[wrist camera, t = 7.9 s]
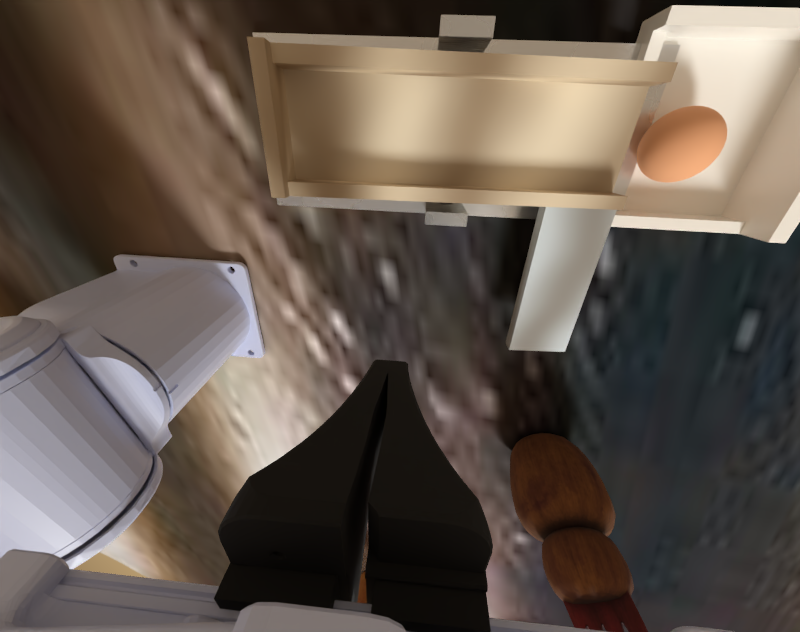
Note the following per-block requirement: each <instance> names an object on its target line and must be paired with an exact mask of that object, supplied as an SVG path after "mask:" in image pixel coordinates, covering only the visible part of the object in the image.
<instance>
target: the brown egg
mask: <svg viewBox="0 0 800 632" xmlns="http://www.w3.org/2000/svg"><path fill="white" fill-rule="evenodd" d="M726 139H727V125H726V122H725V120H724V118H723V117H722V115H721V114H719V113H718V112H717V111H715V110H714V109H711V108H709V107H705V106H688V107H683V108H679V109H676V110H674V111H672V112H670V113H668V114H666V115H664V116H663V117H661V118H660V119H658V120H657V121H656V122H655V123H654V124H653V125H651V126H650V128H649V129H648V130H647V131H646V132H645V134H644V135H643V137H642V139H641V141H640V143H639V145H638V149H637V163H638V166H639V168H640V170H641V172H642V173H643V174H644V175H645V176H647V177H648V178H650V179H652V180H654V181H658V182H677V181H682V180H685V179H688V178H690V177H693V176H695V175H696V174H698V173H700V172H702V171H703V170H704V169H706V168H707V167H708V166H709V165H711V164H712V163H713V161H714V160H715V159H716V158H717V157H718V156H719V154H720V153H721V151H722V149H723V147H724V145H725V142H726Z"/></svg>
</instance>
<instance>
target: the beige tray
mask: <svg viewBox="0 0 800 632" xmlns="http://www.w3.org/2000/svg"><path fill="white" fill-rule="evenodd" d="M247 41H248V48H249V54H250V60H251V67H252V73H253V80H254V86H255V93H256V99H257V106H258V112H259V119H260V125H261V132H262V138H263V145H264V151H265V158H266V164H267V171H268V177H269V184H270V190H271V197H272V198H287V197H289V196H299V197H323V198H347V199H371V200H395V201H418V202H439V203H440V204H447V205H450V204H453V203H466V204H490V205H514V206H537V207H539V210H538V214H537V218H536V222H535V226H534V230H533V234H532V238H531V242H530V246H529V250H528V254H527V258H526V262H525V266H524V270H523V274H522V278H521V282H520V286H519V291H518V295H517V299H516V303H515V307H514V311H513V315H512V319H511V323H510V327H509V331H508V335H507V339H506V345H507V347H508V349H509V350H527V351H555V352H565V350H566V347H567V344H568V342H569V339H570V336H571V334H572V331H573V328H574V325H575V323H576V320H577V317H578V315H579V312H580V309H581V306H582V304H583V301H584V298H585V295H586V293H587V290H588V287H589V285H590V282H591V279H592V276H593V274H594V271H595V268H596V265H597V263H598V260H599V257H600V255H601V252H602V249H603V246H604V244H605V241H606V238H607V235H608V233H609V230H610V227H611V225H612V222H613V219H614V216H615V214H616V211H617V210H623V208H624V205H625V203H626V200H627V197H628V196H624V195H620V194H616V193H612V192H613V189H614V186H615V183H616V181H617V178H618V175H619V172H620V169H621V166H622V163H623V161H624V158H625V155H626V152H627V149H628V146H629V143H630V141H631V138H632V135H633V132H634V129H635V126H636V124H637V121H638V118H639V115H640V112H641V109H642V106H643V104H644V101H645V98H646V95H647V92H648V89H649V87H650V86H655V85H659V84H664V83H668V82H671V80H672V78H673V75H674V72H675V70H676V67H677V64H678V62H661V61H641V60H620V59H600V58H580V57H560V56H539V55H519V54H499V53H479V52H468V51H438V50H418V49H398V48H377V47H357V46H337V45H317V44H296V43H276V42H269V41H268V40H266V39H265V38H264V37H247Z"/></svg>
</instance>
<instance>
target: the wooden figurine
mask: <svg viewBox="0 0 800 632" xmlns="http://www.w3.org/2000/svg"><path fill="white" fill-rule="evenodd" d="M510 481H511V491H512V497H513V502H514V506H515V510H516V513H517V515H518V517H519V519H520V521H521V523H522V525H523V526H524V528H525V529H526V530H527V532H529V533H530V534H531V535H532V536H533V537H535V538H536V539H537V540H539V541H541V542H543V544H542V559H543V566H544V570H545V573H546V576H547V579H548V581H549V583H550V585H551V587H552V589H553V590H554V592H555V593H556V594H557V596H558V597H559V598H560V599H561V600H562V601H563V602H564V604H565V606H566V608H567V611H568V613H569V615H570V618H571V620H572V622H573V625H574V627H575V628H581V629H588V628H589V629H590V630H598V631H604V630H603V626H604V627H605V629H606V631H607V632H624V629H623V624H624V625H625V627H626V628H627V630H628V632H648V631H647V629H646V627H645V624H644V622H643V620H642V618H641V616H640V614H639V612H638V610H637V608H636V606H635V604H634V602H633V600H632V598H631V594H632V592H633V590H634V585H633V580H632V575H631V573H630V570H629V568H628V566H627V563H626V561H625V560H624V558H623V556H622V555H621V553H620V551H619V550H618V548H617V547H616V545H615V544H614V543H613V542H612V540H611V539H610V538H608V537H607V536H608V535H610V534H611V532H612V530H613V528H614V522H615V512H614V508H613V505H612V502H611V499H610V497H609V495H608V493H607V491H606V488H605V486H604V484H603V482H602V480H601V478H600V476H599V475H598V473H597V471H596V470H595V468H594V467H593V465H592V464H591V462H590V461H589V460H588V458H587V457H586V456H585V455H584V454H583V453H582V452H581V451H580V450H579V448H578V447H576V446H575V445H573V444H572V443H571V442H569V441H568V440H567V439H565V438H564V437H562V436H558V435H554V434H550V433H538V434H532V435H529V436H526V437H524V438H522V439H521V440H519V441H518V442H517V443H516V445H515V446H514V448H513V449H512V453H511V457H510Z"/></svg>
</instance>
